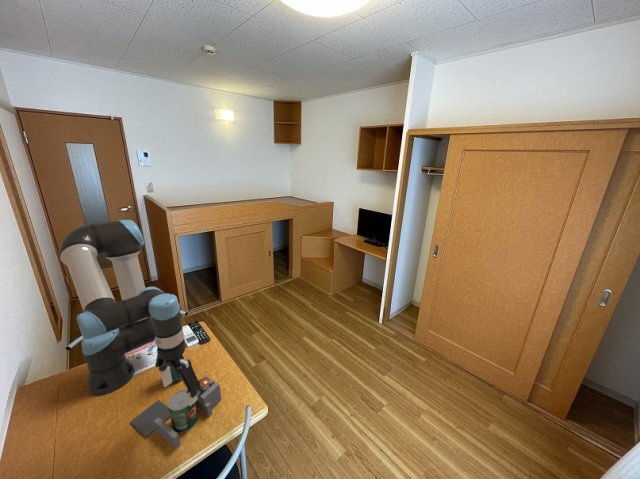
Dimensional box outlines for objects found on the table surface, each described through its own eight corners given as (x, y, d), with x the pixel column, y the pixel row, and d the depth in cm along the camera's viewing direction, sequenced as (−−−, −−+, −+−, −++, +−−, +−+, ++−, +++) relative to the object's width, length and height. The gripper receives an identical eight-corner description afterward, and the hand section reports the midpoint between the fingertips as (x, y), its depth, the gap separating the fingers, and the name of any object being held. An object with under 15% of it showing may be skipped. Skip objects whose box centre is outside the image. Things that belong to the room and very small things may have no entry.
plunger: (197, 396, 97) (195, 383, 95) (206, 388, 101) (204, 375, 98) (204, 401, 96) (202, 388, 93) (213, 393, 99) (212, 380, 97)
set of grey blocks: (156, 431, 88) (152, 414, 86) (205, 388, 105) (202, 373, 102) (176, 449, 83) (172, 431, 81) (224, 401, 100) (222, 386, 97)
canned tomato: (170, 419, 92) (165, 397, 89) (194, 407, 97) (190, 385, 93) (175, 438, 86) (170, 414, 83) (200, 424, 91) (196, 401, 88)
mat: (130, 423, 91) (129, 421, 90) (158, 400, 99) (158, 399, 99) (146, 438, 86) (145, 437, 86) (174, 413, 94) (174, 412, 94)
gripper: (135, 334, 83) (147, 384, 90) (185, 366, 72) (194, 420, 78) (159, 322, 89) (168, 370, 96) (207, 349, 78) (214, 401, 85)
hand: (180, 393), depth 87 cm, fingers open, 13 cm apart
